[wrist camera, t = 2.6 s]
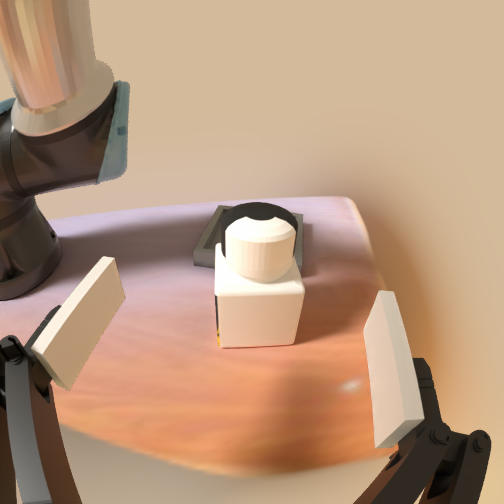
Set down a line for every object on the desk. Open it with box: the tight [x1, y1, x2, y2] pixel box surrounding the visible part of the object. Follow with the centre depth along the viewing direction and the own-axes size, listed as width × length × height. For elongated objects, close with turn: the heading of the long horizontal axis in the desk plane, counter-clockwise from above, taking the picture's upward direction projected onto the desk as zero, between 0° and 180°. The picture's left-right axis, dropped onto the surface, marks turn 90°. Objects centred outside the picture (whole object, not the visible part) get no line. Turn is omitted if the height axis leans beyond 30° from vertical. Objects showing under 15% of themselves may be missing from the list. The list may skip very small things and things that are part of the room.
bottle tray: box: [193, 205, 303, 275], centre depth 41 cm, size 13×13×2 cm
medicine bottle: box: [215, 202, 305, 348], centre depth 26 cm, size 7×7×12 cm
